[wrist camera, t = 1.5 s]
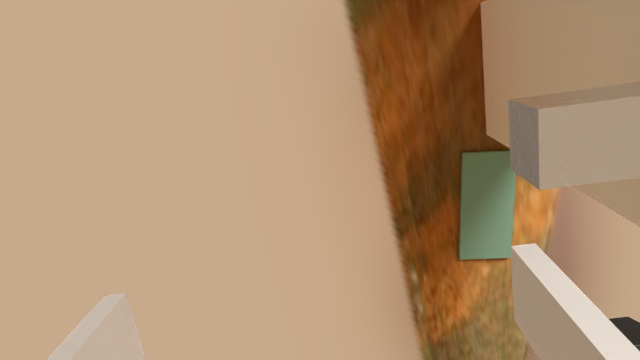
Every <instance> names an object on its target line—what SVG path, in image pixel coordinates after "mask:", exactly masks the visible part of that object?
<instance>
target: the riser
mask: <svg viewBox="0 0 640 360" xmlns="http://www.w3.org/2000/svg"><path fill="white" fill-rule="evenodd" d="M480 5H481V27H482V49H483V71H484V93H485V115H486V135H488V136H490V137H491V138H493V139H495V140H496V141H498V142H500V143H501V144H503V145H505V146H506V147H508V148H510V136H509V105H508V100H509V99H517V98H524V97H532V96H539V95H546V94H554V93H561V92H569V91H576V90H583V89H591V88H598V87H606V86H613V85H620V84H628V83H635V82H640V0H487V1H484V2H480ZM573 187H575V188H577V189H578V190H580V191H581V192H583V193H585V194H587V195H589V196H590V197H591V198H593V199H595V200H596V201H598V202H600V203H602V204H603V205H605V206H606V207H608V208H610V209H612V210H613V211H615V212H616V213H618V214H620V215H621V216H623V217H625V218H626V219H628V220H630V221H631V222H633V223H635V224H637V225H638V226H640V178H634V179H625V180H617V181H609V182H601V183H593V184H584V185H576V186H573Z"/></svg>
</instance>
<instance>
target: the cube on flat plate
mask: <svg viewBox="0 0 640 360" xmlns="http://www.w3.org/2000/svg"><path fill="white" fill-rule="evenodd" d="M508 105H509V136H510V168H511V170H512V171H514V172H515V173H517V174H518V175H519V176H521V177H522V178H524V179H525V180H526V181H528V182H529V183H531V184H532V185H533V186H535V187H536V188H537V189H539V190H543V189H552V188H560V187H567V186H576V185H584V184H593V183H601V182H609V181H617V180H625V179H634V178H640V82H635V83H628V84H620V85H613V86H606V87H598V88H591V89H583V90H576V91H569V92H561V93H554V94H546V95H539V96H532V97H524V98H517V99H509V100H508Z"/></svg>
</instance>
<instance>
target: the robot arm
mask: <svg viewBox="0 0 640 360" xmlns="http://www.w3.org/2000/svg"><path fill="white" fill-rule="evenodd" d="M511 258H512V281H513V305H514V320H515V322H516V323H517V325H518V327H519V328H520V330H521V331H522V333H523V334H524V336H525V338H526V339H527V341H528V342H529V344H530V346H531V347H532V349H533V350H534V352H535V354H536V355H537V357H538V358H539V360H640V323H639V322H637V321H635V320H633V319H631V318H629V317H622V318H614V319H608V318H607V317H606V316H605V315H604V314H603V313H602V312H601V311H600V310H599V309H598V308H597V307H596V306H595V305H594V304H593V303H592V302H591V301H590V300H589V299H588V298H587V296H586V295H585V294H584V293H582V292H581V290H580V289H579V288H578V287H577V286H576V285H575V284H574V283H573V282H572V281H571V280H570V279H569V278H568V277H567V276H566V275H565V274H564V273H563V272H562V271H561V270H560V269H559V268H558V266H557V265H555V263H554V262H553V261H552V260H551V259H550V258H549V257H548V256H547V255H546V254H545V253H544V252H543V251H542V250H541V249H540V248H539V247H538V246H537V245H536V244H535V243H533V244H525V245H517V246H511ZM47 360H146V358H145V354H144V351H143V347H142V344H141V341H140V338H139V334H138V331H137V327H136V324H135V321H134V318H133V314H132V311H131V307H130V304H129V301H128V298H127V294H126V293H120V294H112V295H105V296H104V297H103V298H102V299H101V301H100V302H99V303H98V304H97V305H96V306H95V307H94V308H93V309H92V310H91V311H90V312H89V313H88V315H87V316H86V317H85V318H84V319H83V320H82V321H81V322H80V324H79V325H78V326H77V327H76V328H75V329H74V330H73V331H72V332H71V333H70V334H69V335H68V336H67V338H66V339H65V340H64V341H63V342H62V343H61V344H60V345H59V346H58V347H57V349H56V350H55V351H54V352H53V353H52V354H51V355H50V356H49V358H47Z"/></svg>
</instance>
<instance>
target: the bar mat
mask: <svg viewBox="0 0 640 360" xmlns="http://www.w3.org/2000/svg"><path fill="white" fill-rule="evenodd" d="M515 185H516V173H515V172H514V171H512V170H511V168H510V150H504V151H481V152H462V161H461V193H460V226H459V259H460V260H464V259H493V258H511V246H512V232H513V216H514V200H515Z"/></svg>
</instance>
